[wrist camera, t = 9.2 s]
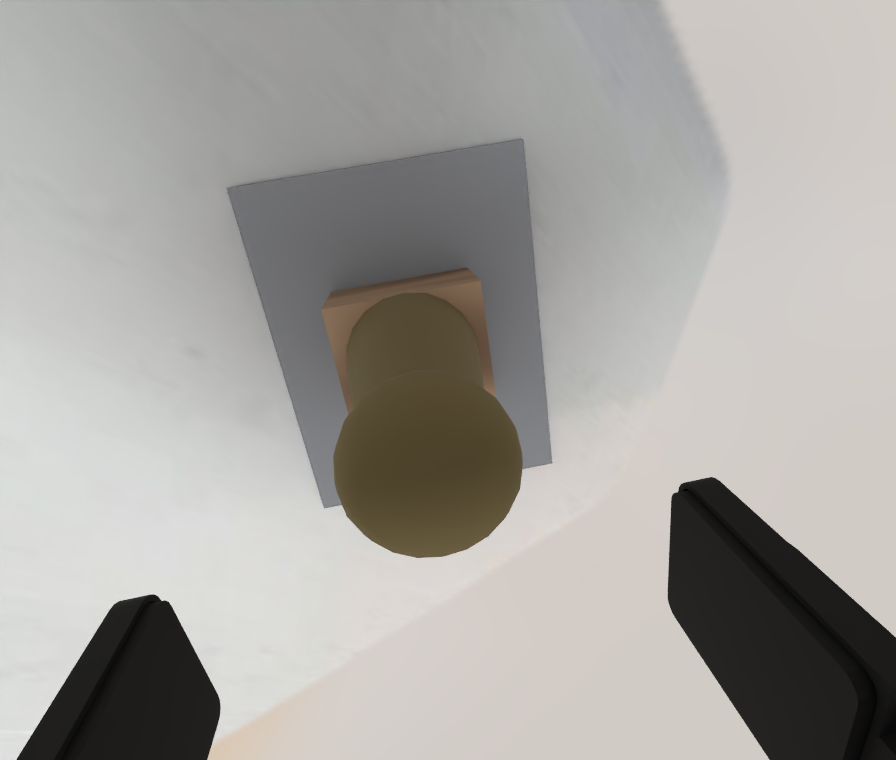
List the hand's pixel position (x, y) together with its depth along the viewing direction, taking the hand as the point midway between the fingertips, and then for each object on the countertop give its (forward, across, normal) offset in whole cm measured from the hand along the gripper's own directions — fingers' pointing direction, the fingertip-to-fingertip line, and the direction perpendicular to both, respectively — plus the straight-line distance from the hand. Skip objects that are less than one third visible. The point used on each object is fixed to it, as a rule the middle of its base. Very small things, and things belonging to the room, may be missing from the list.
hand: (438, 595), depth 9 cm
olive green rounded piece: (+14, 0, 0) cm, 14 cm away
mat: (+18, 0, +1) cm, 19 cm away
